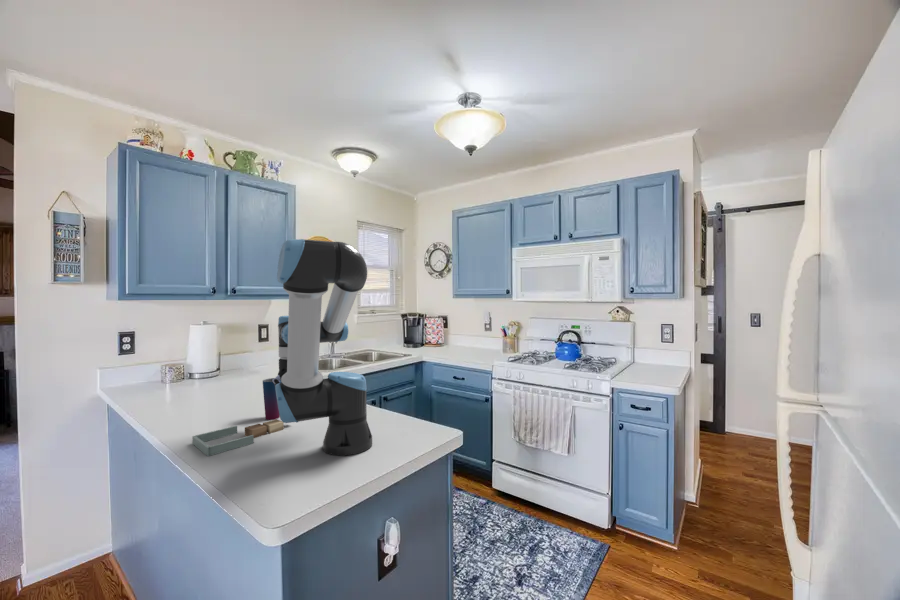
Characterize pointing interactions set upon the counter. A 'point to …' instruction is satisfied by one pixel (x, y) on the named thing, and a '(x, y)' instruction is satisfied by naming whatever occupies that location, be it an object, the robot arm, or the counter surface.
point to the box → (210, 450)
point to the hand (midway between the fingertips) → (290, 421)
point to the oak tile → (274, 426)
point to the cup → (270, 400)
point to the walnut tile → (256, 430)
